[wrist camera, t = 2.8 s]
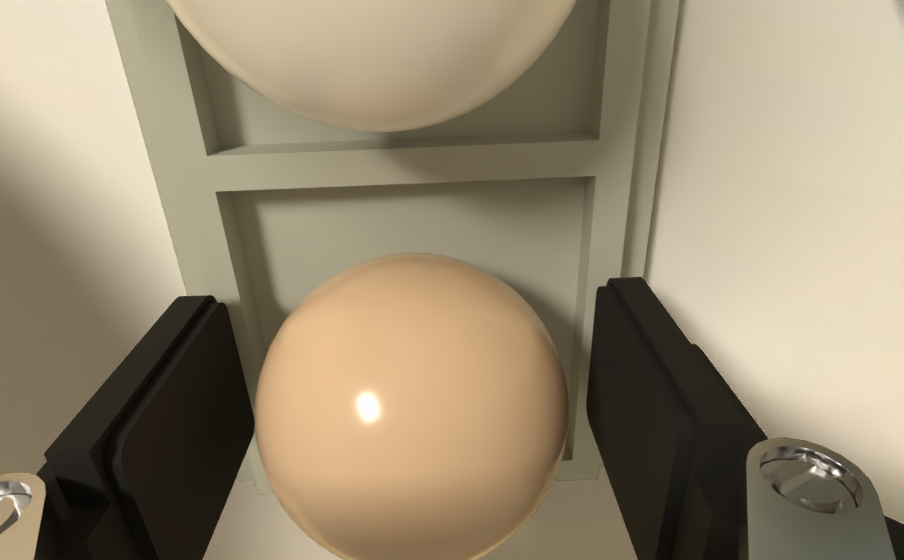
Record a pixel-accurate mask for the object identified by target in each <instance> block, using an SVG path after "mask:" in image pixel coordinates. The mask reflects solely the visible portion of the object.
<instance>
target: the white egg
mask: <svg viewBox="0 0 904 560" xmlns="http://www.w3.org/2000/svg"><path fill="white" fill-rule="evenodd" d="M166 1H167V3H168V4H169V5H170V7H171V8H172V10H173V11H174V13H175V14H176V16H177V17H178V18H179V20H180V21H181V23H182V24H183V25H184V26H185V28H186V29H187V30H188V31H189V32H190V33H191V34H192V36H193V37H194V38H195V39H196V40H197V41H198V43H199V44H200V45H201V46H202V47H203V48H204V50H205V51H206V52H207V53H208V54H209V55H211V56H212V57H213V58H214V59H215V60H216V61H217V62H218V63H219V64H220V65H221V66H222V67H223V68H224V69H225V70H227V71H228V72H229V73H230V74H231V75H232V76H233V77H235V78H236V79H237V80H239V81H240V82H241V83H243V84H244V85H245V86H247V87H248V88H250V89H251V90H252V91H254V92H255V93H256V94H258V95H260V96H261V97H263V98H265V99H267V100H268V101H270V102H272V103H274V104H275V105H277V106H279V107H280V108H282V109H285V110H287V111H289V112H292V113H294V114H296V115H299V116H301V117H303V118H306V119H308V120H311V121H315V122H318V123H322V124H325V125H329V126H332V127H336V128H343V129H349V130H355V131H363V132H394V131H404V130H413V129H418V128H422V127H427V126H431V125H435V124H439V123H443V122H445V121H448V120H450V119H453V118H455V117H458V116H460V115H463V114H466V113H468V112H470V111H471V110H473V109H475V108H477V107H479V106H480V105H482V104H484V103H486V102H488V101H489V100H491V99H492V98H494V97H495V96H496V95H498V94H499V93H501V92H502V91H503V90H505V89H506V88H507V87H509V86H510V85H511V84H513V83H514V82H515V81H516V80H517V79H518V78H519V77H520V76H521V75H522V74H523V73H524V72H525V71H527V70H528V69H529V68H530V67H531V66H532V65H533V64H534V63H535V61H536V60H537V59H538V58H539V57H540V55H541V54H542V53H543V52H544V51H545V49H546V48H547V47H548V46H549V44H550V43H551V42H552V41H553V39H554V38H555V36H556V35H557V33H558V32H559V30H560V28H561V27H562V25H563V24H564V22H565V21H566V19H567V17H568V16H569V14H570V13H571V11H572V9H573V7H574V5H575V3H576V1H577V0H166Z"/></svg>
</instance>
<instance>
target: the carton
mask: <svg viewBox="0 0 904 560" xmlns="http://www.w3.org/2000/svg"><path fill="white" fill-rule="evenodd" d="M105 2H106V6H107V9H108V13H109V16H110V20H111V24H112V27H113V31H114V34H115V38H116V42H117V45H118V49H119V52H120V56H121V59H122V63H123V67H124V70H125V74H126V77H127V81H128V85H129V88H130V92H131V95H132V99H133V103H134V106H135V110H136V113H137V117H138V120H139V124H140V128H141V131H142V135H143V138H144V142H145V146H146V149H147V153H148V156H149V160H150V164H151V167H152V171H153V174H154V178H155V181H156V185H157V189H158V192H159V196H160V199H161V203H162V207H163V210H164V214H165V217H166V221H167V224H168V228H169V232H170V235H171V239H172V242H173V246H174V250H175V253H176V257H177V260H178V264H179V268H180V271H181V275H182V278H183V282H184V285H185V289H186V293H187V296H202V295H212V296H214V297H215V299H216V300H217V303H218V302H223V303H225V305H226V306H227V309H228V312H229V316H230V320H231V324H232V328H233V333H234V337H235V341H236V345H237V349H238V353H239V357H240V361H241V365H242V369H243V373H244V377H245V382H246V386H247V390H248V394H249V398H250V402H251V406H252V410H253V414H254V420H255V400H256V392H257V387H258V381H259V376H260V372H261V370H262V367H263V364H264V361H265V358H266V355H267V353H268V350H269V347H270V345H271V343H272V342H273V340H274V338H275V336H276V334H277V333H278V331H279V329H280V328H281V326H282V324H283V323H284V321H285V320H286V318H287V317H288V316H289V315H290V313H291V312H292V311H293V310H294V308H295V307H296V306H297V305H298V304H299V303H300V302H301V301H302V300H303V299H304V298H305V297H306V296H307V295H308V294H309V293H311V292H312V291H313V290H314V289H315V288H316V287H317V286H319V285H320V284H321V283H323V282H324V281H326V280H327V279H329V278H330V277H331V276H333V275H335V274H337V273H339V272H341V271H343V270H345V269H347V268H349V267H351V266H353V265H355V264H358V263H360V262H363V261H366V260H369V259H372V258H376V257H380V256H385V255H389V254H399V253H430V254H437V255H445V256H448V257H452V258H456V259H460V260H463V261H466V262H468V263H471V264H473V265H476V266H478V267H480V268H482V269H484V270H486V271H487V272H489V273H491V274H493V275H495V276H496V277H498V278H499V279H501V280H502V281H503V282H505V283H506V284H507V285H509V286H510V287H511V288H513V289H514V290H515V291H516V292H517V293H518V294H519V295H520V296H521V297H522V298H523V299H524V300H525V301H526V302H527V303H528V304H529V305H530V306H531V307H532V309H533V310H534V311H535V313H536V314H537V315H538V317H539V318H540V319H541V320H542V322H543V323H544V325H545V327H546V328H547V330H548V332H549V334H550V336H551V338H552V340H553V342H554V344H555V346H556V348H557V350H558V353H559V356H560V359H561V362H562V365H563V368H564V373H565V377H566V383H567V388H568V394H569V427H568V433H567V439H566V445H565V450H564V455H563V458H562V461H561V464H560V467H559V469H558V472H557V474H556V477H555V479H554V481H567V480H589V479H598V471H599V465H604V464H603V461H602V458H601V455H600V452H599V450H598V447H597V444H596V441H595V438H594V436H593V433H592V430H591V427H590V425H589V421H588V417H587V410H586V400H587V389H588V378H589V367H590V356H591V345H592V334H593V323H594V312H595V301H596V292H597V288H598V287H599V286H606V284H607V281H608V280H609V278H624V277H642V278H643V274H644V267H645V259H646V252H647V244H648V236H649V229H650V221H651V214H652V206H653V198H654V191H655V183H656V176H657V168H658V161H659V153H660V145H661V138H662V130H663V123H664V115H665V108H666V100H667V92H668V85H669V77H670V70H671V62H672V55H673V47H674V39H675V32H676V24H677V17H678V9H679V2H680V0H577V1H576V3H575V5H574V7H573V9H572V11H571V13H570V14H569V16H568V17H567V19H566V21H565V22H564V24H563V25H562V27H561V28H560V30H559V32H558V33H557V35H556V36H555V38H554V39H553V41H552V42H551V43H550V44H549V46H548V47H547V48H546V49H545V51H544V52H543V53H542V54H541V55H540V57H539V58H538V59H537V60H536V61H535V63H534V64H533V65H532V66H531V67H530V68H529V69H528V70H527V71H525V72H524V73H523V74H522V75H521V76H520V77H519V78H518V79H517V80H516V81H515V82H514V83H513V84H511V85H510V86H509V87H507V88H506V89H505V90H503V91H502V92H501V93H499V94H498V95H496V96H495V97H494V98H492V99H491V100H489V101H488V102H486V103H484V104H482V105H480V106H479V107H477V108H475V109H473V110H471V111H470V112H468V113H466V114H463V115H460V116H458V117H455V118H453V119H450V120H448V121H445V122H443V123H439V124H435V125H431V126H427V127H422V128H418V129H413V130H404V131H394V132H363V131H355V130H349V129H343V128H336V127H332V126H329V125H325V124H322V123H318V122H315V121H311V120H308V119H306V118H303V117H301V116H299V115H296V114H294V113H292V112H289V111H287V110H285V109H282V108H280V107H279V106H277V105H275V104H274V103H272V102H270V101H268V100H267V99H265V98H263V97H261V96H260V95H258V94H256V93H255V92H254V91H252V90H251V89H250V88H248V87H247V86H245V85H244V84H243V83H241V82H240V81H239V80H237V79H236V78H235V77H233V76H232V75H231V74H230V73H229V72H228V71H227V70H225V69H224V68H223V67H222V66H221V65H220V64H219V63H218V62H217V61H216V60H215V59H214V58H213V57H212V56H211V55H209V54H208V53H207V52H206V51H205V50H204V48H203V47H202V46H201V45H200V44H199V43H198V41H197V40H196V39H195V38H194V37H193V36H192V34H191V33H190V32H189V31H188V30H187V29H186V28H185V26H184V25H183V24H182V23H181V21H180V20H179V18H178V17H177V16H176V14H175V13H174V11H173V10H172V8H171V7H170V5H169V4H168V3H167V1H166V0H105ZM237 476H238V479H239V482H242V481H255V484H256V488H257V492H258V494H275V493H274V492H273V490H272V488H271V486H270V484H269V482H268V480H267V477H266V474H265V471H264V468H263V465H262V462H261V459H260V455H259V452H258V446H257V440H256V431H255V428H254V434H253V438H252V440H251V443H250V445H249V447H248V450H247V452H246V455H245V457H244V460H243V462H242V464H241V467H240V469H239V472H238V474H237Z"/></svg>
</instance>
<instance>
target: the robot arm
mask: <svg viewBox="0 0 904 560" xmlns="http://www.w3.org/2000/svg"><path fill="white" fill-rule="evenodd" d="M586 410H587V417H588V421H589V425H590V427H591V430H592V433H593V436H594V438H595V441H596V444H597V447H598V450H599V452H600V455H601V458H602V461H603V464H604V466H605V469H606V472H607V475H608V477H609V480H610V483H611V486H612V489H613V491H614V494H615V497H616V500H617V503H618V505H619V508H620V511H621V514H622V516H623V519H624V522H625V525H626V528H627V530H628V533H629V536H630V539H631V542H632V544H633V547H634V550H635V553H636V555H637V558H638V560H904V524H901V523H899V522H897V521H895V520H893V519H891V518H888V517H886V516H884V515H883V512H882V508H881V505H880V501H879V498H878V494H877V492H876V490H875V488H874V486H873V484H872V482H871V480H870V479H869V478H868V477H867V476H866V475H865V474H864V473H863V472H862V471H861V470H860V469H859V468H858V467H857V466H856V465H854V464H853V463H852V462H850V461H849V460H847V459H846V458H845V457H843V456H842V455H840V454H838V453H836V452H834V451H832V450H830V449H828V448H825V447H823V446H821V445H817V444H814V443H811V442H808V441H805V440H798V439H791V438H774V439H768V438H767V436H766V435H765V434H764V432H763V431H762V430H761V428H760V427H759V426H758V424H757V423H756V422H755V420H754V419H753V418H752V416H751V415H750V414H749V412H748V411H747V410H746V408H745V407H744V406H743V404H742V403H741V402H740V400H739V399H738V398H737V396H736V395H735V394H734V392H733V391H732V390H731V388H730V387H729V386H728V384H727V383H726V382H725V380H724V379H723V378H722V376H721V375H720V374H719V372H718V371H717V370H716V368H715V367H714V366H713V364H712V363H711V362H710V360H709V359H708V358H707V356H706V355H705V354H704V352H703V351H702V350H701V349H700V348H699V347H698V346H697V345H695V344H691V343H690V342H689V341H688V339H687V338H686V337H685V335H684V334H683V332H682V331H681V330H680V328H679V327H678V326H677V324H676V323H675V322H674V320H673V319H672V317H671V316H670V315H669V313H668V312H667V311H666V309H665V308H664V307H663V305H662V304H661V302H660V301H659V300H658V298H657V297H656V296H655V294H654V293H653V291H652V290H651V289H650V287H649V286H648V285H647V283H646V282H645V281H644V279H643V278H642V277H624V278H609V280H608V281H607V284H606V286H599V287H598V288H597V292H596V301H595V312H594V323H593V334H592V345H591V356H590V367H589V378H588V389H587V400H586ZM254 428H255V420H254V414H253V410H252V406H251V402H250V398H249V394H248V390H247V386H246V382H245V377H244V373H243V369H242V365H241V361H240V357H239V353H238V349H237V345H236V341H235V337H234V333H233V328H232V324H231V320H230V316H229V312H228V309H227V306H226V305H225V303H223V302H218V303H217V300H216V299H215V297H214V296H212V295H202V296H179V297H178V298H176V299H175V301H174V302H173V303H172V304H171V305H170V306H169V308H168V309H167V310H166V311H165V312H164V313H163V315H162V316H161V317H160V318H159V319H158V320H157V322H156V323H155V324H154V325H153V326H152V328H151V329H150V330H149V331H148V332H147V333H146V335H145V336H144V337H143V338H142V339H141V340H140V342H139V343H138V344H137V345H136V346H135V347H134V349H133V350H132V351H131V352H130V353H129V355H128V356H127V357H126V358H125V359H124V360H123V362H122V363H121V364H120V365H119V366H118V367H117V369H116V370H115V371H114V372H113V373H112V374H111V376H110V377H109V378H108V379H107V380H106V381H105V383H104V384H103V385H102V386H101V387H100V389H99V390H98V391H97V392H96V393H95V394H94V396H93V397H92V398H91V399H90V400H89V401H88V403H87V404H86V405H85V406H84V407H83V408H82V410H81V411H80V412H79V413H78V414H77V416H76V417H75V418H74V419H73V420H72V421H71V423H70V424H69V425H68V426H67V427H66V428H65V430H64V431H63V432H62V433H61V434H60V435H59V437H58V438H57V439H56V440H55V441H54V443H53V444H52V445H51V446H50V447H49V448H48V450H47V451H46V452H45V453H44V455H45V457H46V460H47V462H46V463H45V464H44V466H43V467H42V468H41V469H40V470H39V472H38V473H37V474H36V475H33V474H29V473H26V472H19V473H6V474H1V475H0V560H202V559H203V557H204V554H205V552H206V549H207V547H208V544H209V542H210V540H211V537H212V535H213V532H214V530H215V527H216V525H217V523H218V520H219V518H220V515H221V513H222V511H223V508H224V506H225V503H226V501H227V498H228V496H229V494H230V491H231V489H232V486H233V484H234V481H235V479H236V477H237V474H238V472H239V469H240V467H241V464H242V462H243V460H244V457H245V455H246V452H247V450H248V447H249V445H250V443H251V440H252V438H253V434H254Z"/></svg>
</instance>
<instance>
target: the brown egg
mask: <svg viewBox="0 0 904 560" xmlns="http://www.w3.org/2000/svg"><path fill="white" fill-rule="evenodd" d="M568 427H569V394H568V388H567V383H566V377H565V373H564V368H563V365H562V362H561V359H560V356H559V353H558V350H557V348H556V346H555V344H554V342H553V340H552V338H551V336H550V334H549V332H548V330H547V328H546V327H545V325H544V323H543V322H542V320H541V319H540V318H539V317H538V315H537V314H536V313H535V311H534V310H533V309H532V307H531V306H530V305H529V304H528V303H527V302H526V301H525V300H524V299H523V298H522V297H521V296H520V295H519V294H518V293H517V292H516V291H515V290H514V289H513V288H511V287H510V286H509V285H507V284H506V283H505V282H503V281H502V280H501V279H499V278H498V277H496V276H495V275H493V274H491V273H489V272H487V271H486V270H484V269H482V268H480V267H478V266H476V265H473V264H471V263H468V262H466V261H463V260H460V259H456V258H452V257H448V256H445V255H437V254H430V253H399V254H389V255H385V256H380V257H376V258H372V259H369V260H366V261H363V262H360V263H358V264H355V265H353V266H351V267H349V268H347V269H345V270H343V271H341V272H339V273H337V274H335V275H333V276H331V277H330V278H329V279H327V280H326V281H324V282H323V283H321V284H320V285H319V286H317V287H316V288H315V289H314V290H313V291H312V292H311V293H309V294H308V295H307V296H306V297H305V298H304V299H303V300H302V301H301V302H300V303H299V304H298V305H297V306H296V307H295V308H294V310H293V311H292V312H291V313H290V315H289V316H288V317H287V318H286V320H285V321H284V323H283V324H282V326H281V328H280V329H279V331H278V333H277V334H276V336H275V338H274V340H273V342H272V343H271V345H270V347H269V350H268V353H267V355H266V358H265V361H264V364H263V367H262V370H261V372H260V376H259V381H258V387H257V392H256V400H255V431H256V440H257V446H258V452H259V455H260V459H261V462H262V465H263V468H264V471H265V474H266V477H267V480H268V482H269V484H270V486H271V488H272V490H273V492H274V493H275V495H276V497H277V499H278V501H279V502H280V504H281V506H282V507H283V508H284V510H285V511H286V513H287V514H288V515H289V517H290V518H291V519H292V520H293V521H294V522H295V523H296V524H297V525H298V526H299V527H300V528H301V529H302V530H303V531H304V532H305V534H306V535H307V536H308V537H310V538H311V539H312V540H313V541H315V542H316V543H317V544H318V545H320V546H321V547H323V548H324V549H326V550H328V551H329V552H331V553H332V554H334V555H336V556H338V557H340V558H342V559H344V560H475V559H477V558H479V557H481V556H483V555H485V554H487V553H489V552H491V551H493V550H494V549H496V548H497V547H499V546H500V545H502V544H503V543H504V542H505V541H507V540H508V539H509V538H510V537H512V536H513V535H514V534H515V533H516V532H517V531H518V530H519V529H520V528H521V527H522V526H523V525H524V524H525V523H526V522H527V521H528V520H529V519H530V518H531V516H532V515H533V514H534V512H535V511H536V510H537V508H538V507H539V505H540V504H541V502H542V501H543V499H544V498H545V496H546V495H547V493H548V491H549V489H550V487H551V485H552V484H553V482H554V479H555V477H556V474H557V472H558V469H559V467H560V464H561V461H562V458H563V455H564V450H565V445H566V439H567V433H568Z"/></svg>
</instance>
